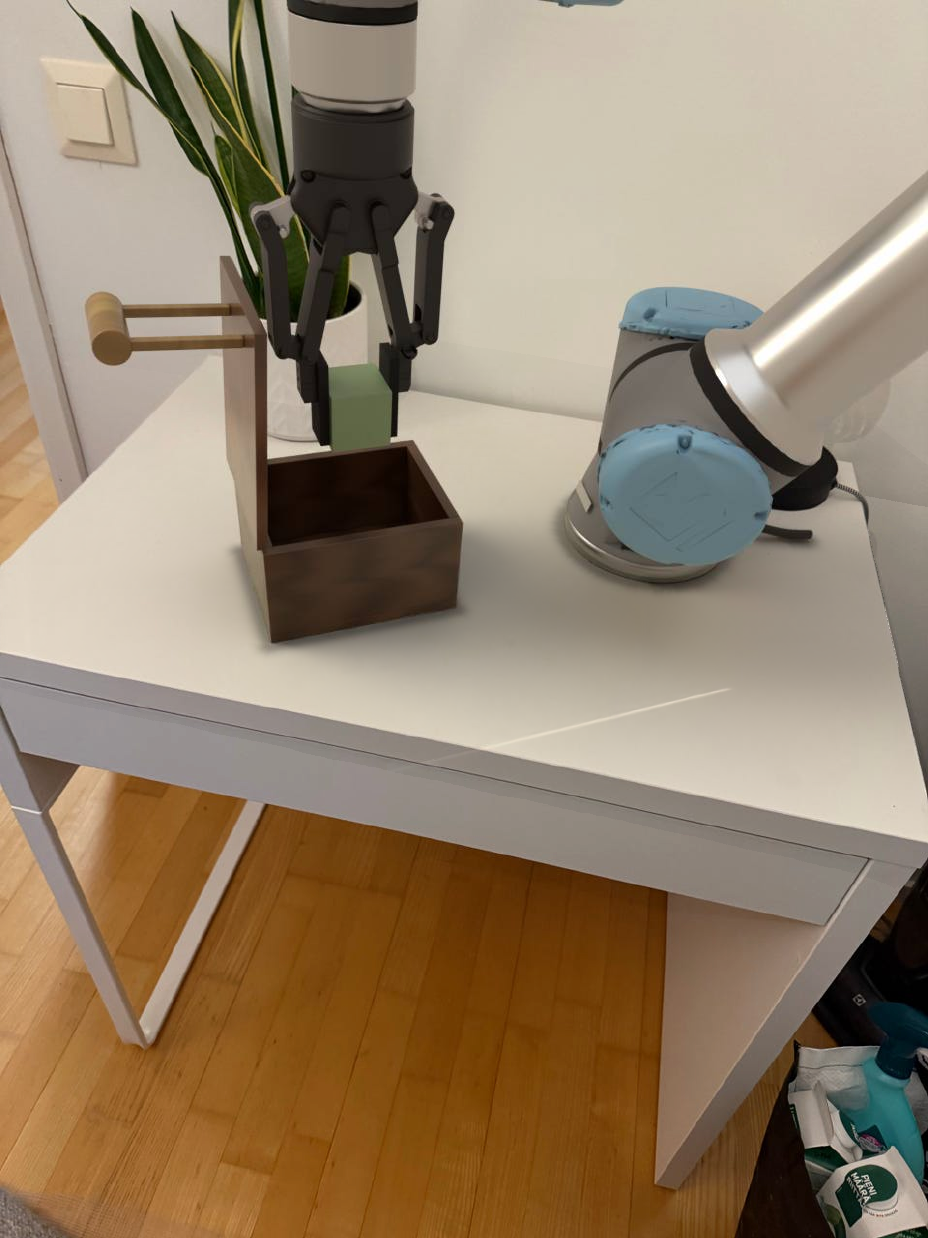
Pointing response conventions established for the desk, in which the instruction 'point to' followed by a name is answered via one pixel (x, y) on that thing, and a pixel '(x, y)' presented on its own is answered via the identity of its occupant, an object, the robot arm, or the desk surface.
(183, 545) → the desk surface
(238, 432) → the lid
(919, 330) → the robot arm
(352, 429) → the block
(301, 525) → the chest
